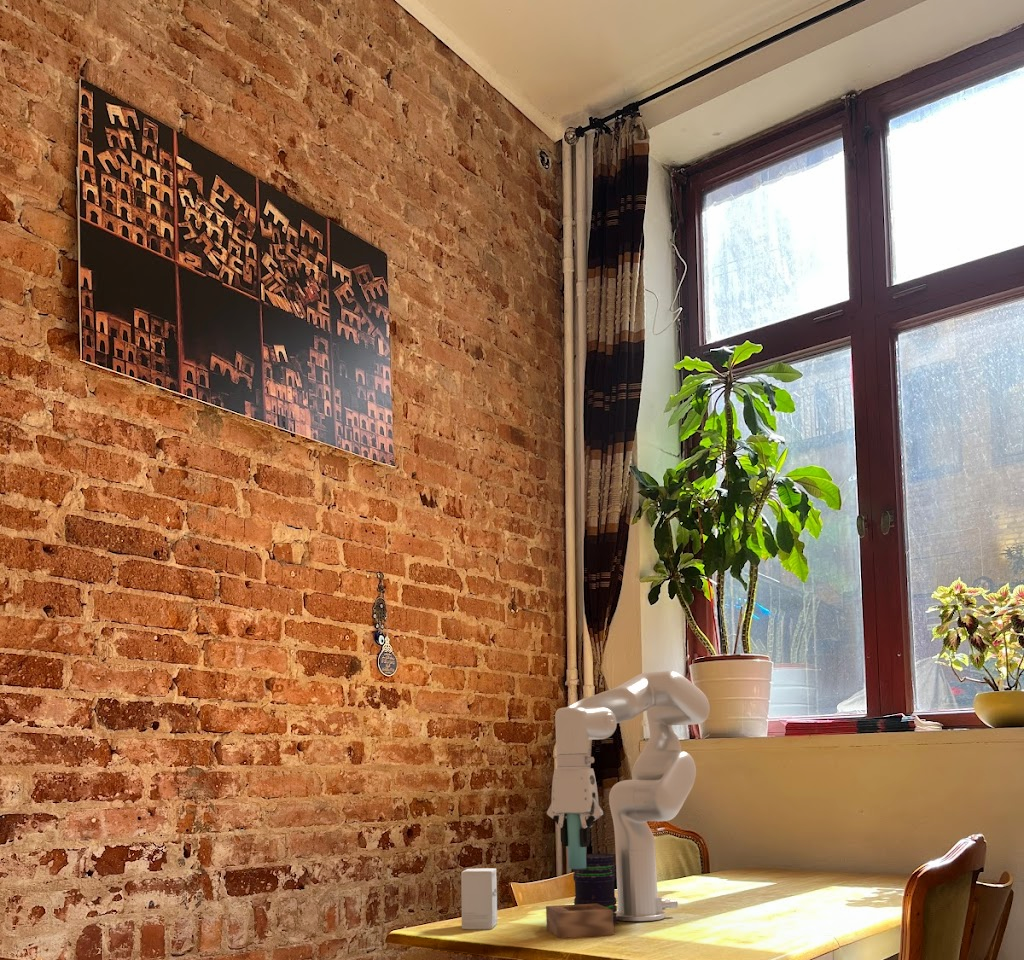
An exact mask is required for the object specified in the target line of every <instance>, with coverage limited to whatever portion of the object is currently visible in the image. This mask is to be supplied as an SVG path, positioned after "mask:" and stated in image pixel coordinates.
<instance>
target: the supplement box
mask: <svg viewBox="0 0 1024 960" xmlns="http://www.w3.org/2000/svg"><path fill="white" fill-rule="evenodd" d="M460 874H461V875H460V876H461V877H460V878H461V883H460V884H461V887H460V889H461V893H460V895H461V929H462V930H493V928H494V927H496V926H497V925H498V890H497V889H498V888H497V885H498V884H497V883H498V881H497V878H498V877H497V868H496V867H495V868H490V867H486V868H485V867H482V868H481V867H480V868H466V869H465V870H462V871H461V872H460ZM496 924H497V925H496Z"/></svg>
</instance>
